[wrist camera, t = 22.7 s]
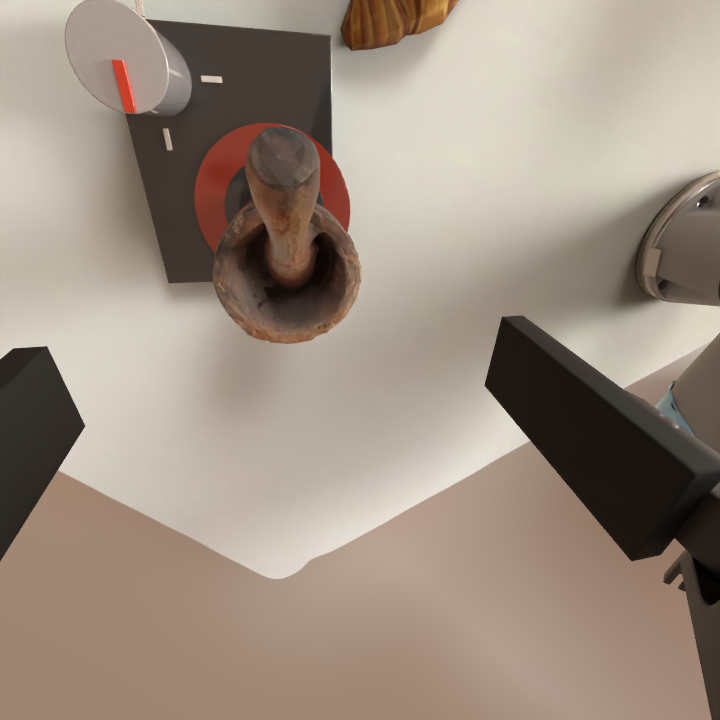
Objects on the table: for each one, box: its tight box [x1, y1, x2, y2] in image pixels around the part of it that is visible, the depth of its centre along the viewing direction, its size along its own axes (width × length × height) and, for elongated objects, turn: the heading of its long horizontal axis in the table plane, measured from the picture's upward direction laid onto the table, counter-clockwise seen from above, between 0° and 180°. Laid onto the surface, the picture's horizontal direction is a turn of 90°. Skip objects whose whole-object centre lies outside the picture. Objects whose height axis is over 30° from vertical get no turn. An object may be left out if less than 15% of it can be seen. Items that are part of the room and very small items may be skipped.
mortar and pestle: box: [213, 127, 361, 344], centre depth 23 cm, size 12×9×20 cm
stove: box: [126, 0, 332, 283], centre depth 30 cm, size 17×20×3 cm
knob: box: [65, 0, 192, 117], centre depth 22 cm, size 5×5×8 cm
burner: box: [194, 123, 350, 253], centre depth 32 cm, size 13×13×1 cm
